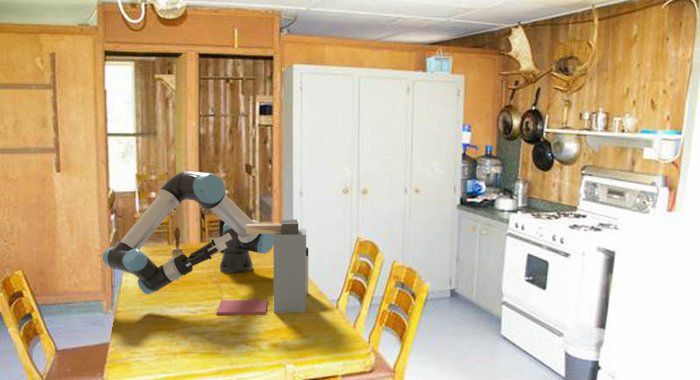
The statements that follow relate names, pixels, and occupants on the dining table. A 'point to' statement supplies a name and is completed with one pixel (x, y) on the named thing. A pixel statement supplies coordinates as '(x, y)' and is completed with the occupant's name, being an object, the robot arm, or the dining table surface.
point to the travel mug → (306, 271)
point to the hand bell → (177, 249)
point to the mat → (242, 307)
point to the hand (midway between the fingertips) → (227, 239)
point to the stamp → (274, 228)
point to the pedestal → (290, 272)
